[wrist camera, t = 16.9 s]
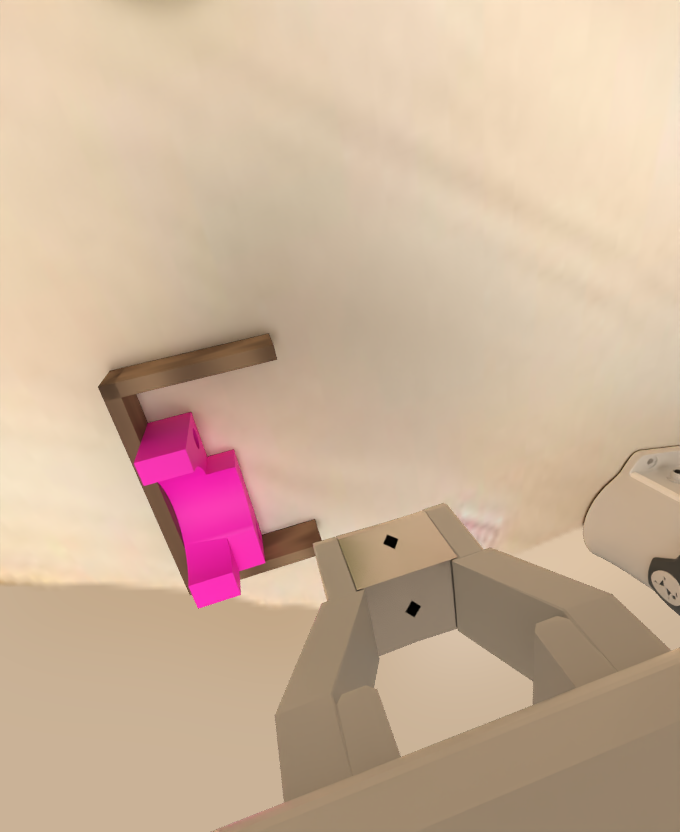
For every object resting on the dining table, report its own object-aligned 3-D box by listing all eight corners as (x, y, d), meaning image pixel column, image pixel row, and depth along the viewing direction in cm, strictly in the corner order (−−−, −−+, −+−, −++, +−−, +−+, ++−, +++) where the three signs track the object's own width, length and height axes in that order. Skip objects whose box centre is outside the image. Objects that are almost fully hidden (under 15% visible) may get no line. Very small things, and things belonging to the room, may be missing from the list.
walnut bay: (268, 333, 38) (273, 345, 35) (317, 528, 48) (324, 552, 44) (109, 370, 37) (97, 386, 33) (192, 566, 46) (190, 595, 42)
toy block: (261, 533, 46) (268, 585, 40) (201, 551, 46) (198, 608, 39) (219, 403, 40) (219, 440, 33) (148, 422, 39) (133, 463, 32)
